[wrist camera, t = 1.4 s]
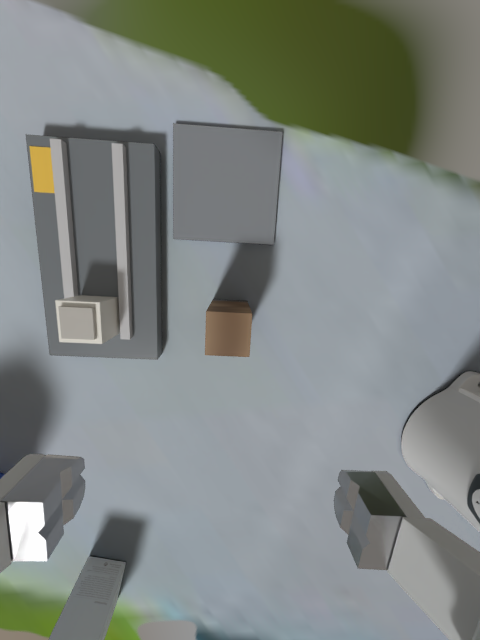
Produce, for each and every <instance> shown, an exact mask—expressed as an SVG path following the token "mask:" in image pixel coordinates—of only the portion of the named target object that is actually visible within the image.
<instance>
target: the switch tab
mask: <svg viewBox="0 0 480 640" xmlns="http://www.w3.org/2000/svg"><path fill="white" fill-rule="evenodd" d="M55 304H56V314H57V324H58V334H59V342H69V343H92V344H103V343H105V342H106V341H108V340H110V339H111V338H113V337H114V336H116V335H118V334H119V333H120V317H119V297H107V296H87V295H79V296H74V297H69V298H64V299H59V300H55Z"/></svg>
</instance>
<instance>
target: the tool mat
mask: <svg viewBox="0 0 480 640" xmlns="http://www.w3.org/2000/svg"><path fill="white" fill-rule="evenodd" d="M282 134H283V132H278V131H265V130H252V129H239V128H226V127H213V126H200V125H187V124H174V123H173V239H182V240H199V241H215V242H232V243H249V244H266V245H274V235H275V222H276V209H277V197H278V184H279V172H280V159H281V147H282Z"/></svg>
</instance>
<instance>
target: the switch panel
mask: <svg viewBox="0 0 480 640" xmlns="http://www.w3.org/2000/svg"><path fill="white" fill-rule="evenodd" d="M26 142H27V151H28V161H29V170H30V179H31V188H32V197H33V207H34V216H35V225H36V234H37V243H38V253H39V262H40V271H41V280H42V290H43V299H44V308H45V317H46V326H47V336H48V345H49V354H50V355H56V356H80V357H105V358H129V359H153V360H158V358H159V357H160V356H161V354H162V294H161V197H160V152H159V150H158V149H157V147H156V146H155V144H148V143H135V142H121V141H108V140H94V139H80V138H67V137H53V136H40V135H26ZM79 295H87V296H107V297H119V317H120V333H119V334H118V335H116V336H114V337H113V338H111V339H110V340H108V341H106V342H105V343H103V344H92V343H69V342H59V334H58V324H57V314H56V304H55V300H59V299H64V298H69V297H74V296H79Z"/></svg>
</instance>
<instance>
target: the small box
mask: <svg viewBox="0 0 480 640" xmlns="http://www.w3.org/2000/svg"><path fill="white" fill-rule="evenodd" d="M125 565H126V562H122V561H116V560H110V559H104V558H98V557H91V556H89V557H88V559H87V561H86V563H85V565H84V567H83V569H82V571H81V573H80V575H79V578H78V580H77V582H76V584H75V586H74V588H73V590H72V592H71V594H70V596H69V598H68V600H67V602H66V604H65V606H64V608H63V611H62V613H61V615H60V617H59V619H58V621H57V623H56V625H55V627H54V629H53V631H52V633H51V635H50V637H49V640H104V639H105V636H106V633H107V630H108V627H109V624H110V621H111V618H112V615H113V612H114V609H115V606H116V603H117V600H118V595H119V591H120V586H121V582H122V578H123V573H124V569H125Z"/></svg>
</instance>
